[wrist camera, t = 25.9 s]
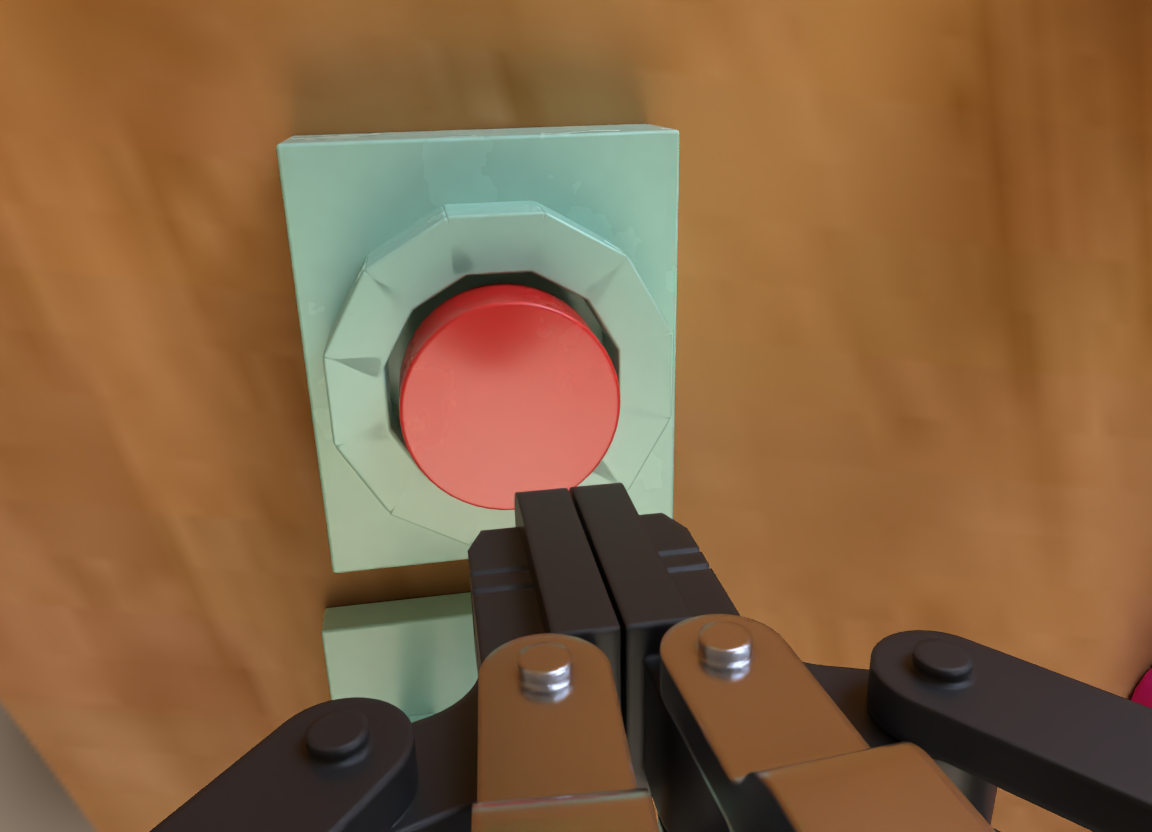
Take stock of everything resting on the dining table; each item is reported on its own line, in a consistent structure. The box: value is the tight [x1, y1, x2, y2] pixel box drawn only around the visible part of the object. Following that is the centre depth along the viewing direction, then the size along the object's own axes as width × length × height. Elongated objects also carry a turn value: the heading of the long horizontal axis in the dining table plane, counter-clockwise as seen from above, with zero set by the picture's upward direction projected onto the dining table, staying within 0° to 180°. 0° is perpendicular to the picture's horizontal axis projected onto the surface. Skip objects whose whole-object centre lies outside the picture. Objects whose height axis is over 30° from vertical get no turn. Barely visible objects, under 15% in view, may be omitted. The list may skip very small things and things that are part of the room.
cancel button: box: [399, 283, 620, 510], centre depth 19 cm, size 4×4×2 cm
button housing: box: [276, 124, 679, 573], centre depth 21 cm, size 10×8×4 cm
